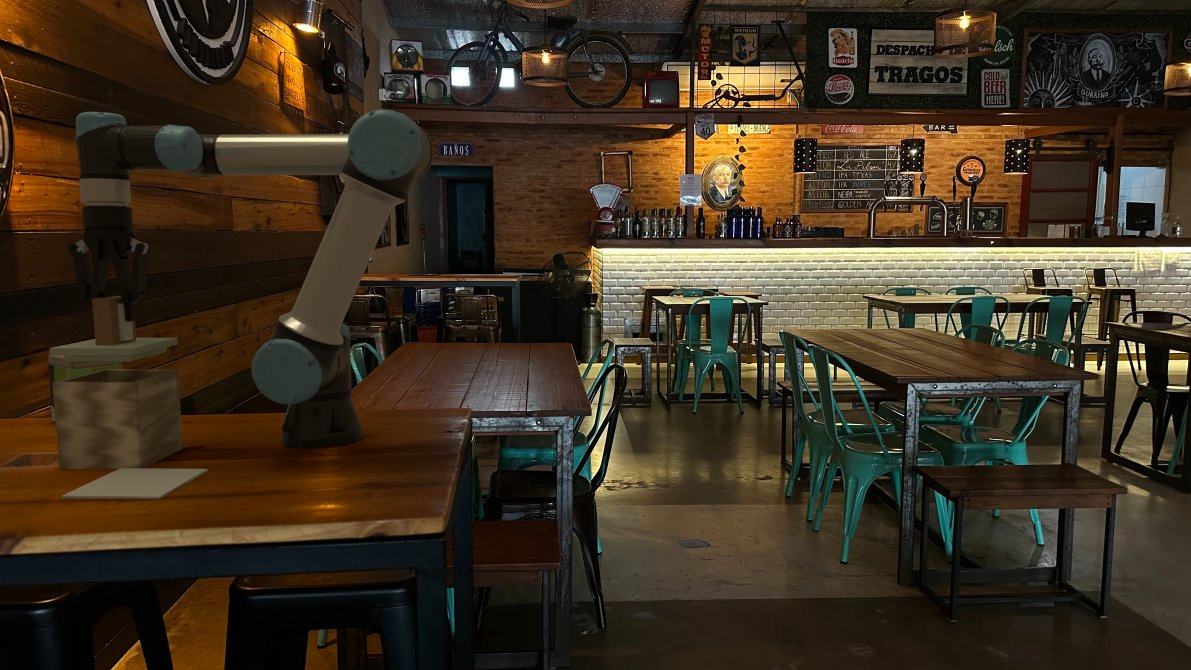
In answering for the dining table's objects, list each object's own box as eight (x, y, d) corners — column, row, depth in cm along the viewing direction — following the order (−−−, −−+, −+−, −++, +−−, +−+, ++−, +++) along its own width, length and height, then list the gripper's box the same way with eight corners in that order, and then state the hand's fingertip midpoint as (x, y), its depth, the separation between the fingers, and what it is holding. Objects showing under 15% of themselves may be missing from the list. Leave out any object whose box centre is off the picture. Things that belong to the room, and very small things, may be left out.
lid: (178, 350, 152) (174, 294, 151) (133, 362, 138) (129, 300, 137) (102, 350, 153) (98, 294, 152) (50, 362, 139) (45, 300, 137)
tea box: (127, 424, 175) (123, 355, 173) (74, 432, 167) (68, 360, 166) (102, 414, 185) (97, 348, 183) (50, 421, 177) (45, 353, 176)
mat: (207, 471, 140) (207, 468, 140) (159, 499, 125) (159, 496, 125) (120, 470, 140) (120, 468, 140) (61, 498, 125) (61, 495, 125)
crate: (182, 448, 154) (178, 369, 153) (140, 469, 141) (134, 383, 139) (109, 448, 155) (103, 369, 153) (59, 469, 141) (52, 382, 139)
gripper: (164, 205, 146) (172, 337, 149) (75, 206, 146) (85, 337, 149) (140, 204, 138) (149, 342, 141) (46, 204, 139) (57, 342, 142)
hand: (116, 339), depth 145 cm, fingers closed on lid, 3 cm apart
